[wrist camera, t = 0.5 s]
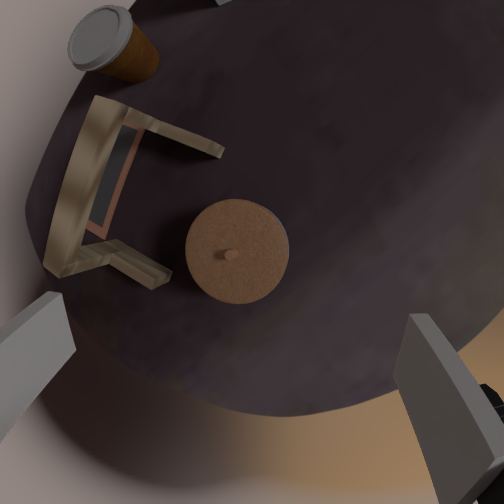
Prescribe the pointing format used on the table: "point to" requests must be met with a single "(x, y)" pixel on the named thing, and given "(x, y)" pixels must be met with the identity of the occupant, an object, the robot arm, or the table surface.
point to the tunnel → (85, 188)
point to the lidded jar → (237, 251)
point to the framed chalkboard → (114, 178)
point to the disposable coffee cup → (112, 45)
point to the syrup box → (221, 2)
